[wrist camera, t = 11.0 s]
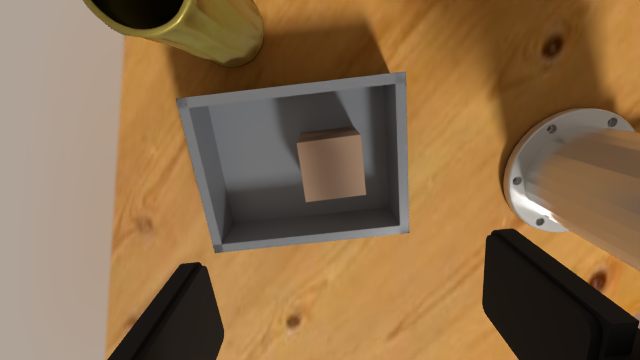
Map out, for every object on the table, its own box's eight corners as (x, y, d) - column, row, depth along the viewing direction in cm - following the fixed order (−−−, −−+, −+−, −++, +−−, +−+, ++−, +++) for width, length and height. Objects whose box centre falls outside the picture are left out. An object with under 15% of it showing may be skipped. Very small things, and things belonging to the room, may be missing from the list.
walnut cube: (353, 125, 28) (360, 134, 23) (358, 176, 29) (366, 194, 24) (300, 132, 28) (296, 142, 23) (307, 183, 29) (305, 202, 25)
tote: (390, 73, 27) (405, 71, 22) (395, 210, 31) (409, 232, 26) (200, 96, 27) (175, 98, 23) (230, 227, 32) (214, 253, 27)
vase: (183, 0, 25) (24, -100, 12) (252, -20, 25) (172, -148, 11) (208, 74, 27) (96, 63, 13) (273, 57, 27) (226, 28, 13)
